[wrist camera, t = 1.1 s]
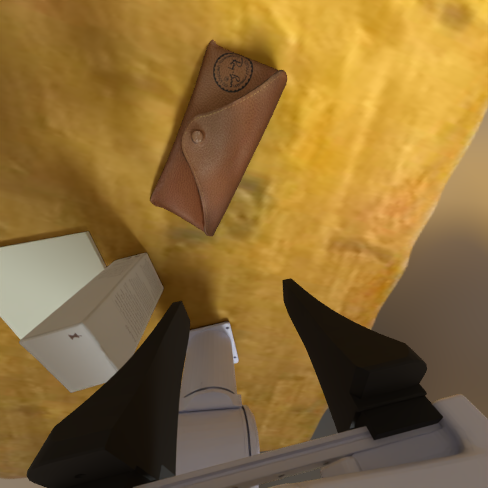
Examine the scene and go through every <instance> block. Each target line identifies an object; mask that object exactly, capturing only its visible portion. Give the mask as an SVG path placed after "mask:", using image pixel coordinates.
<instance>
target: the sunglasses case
mask: <svg viewBox="0 0 488 488" xmlns="http://www.w3.org/2000/svg"><path fill="white" fill-rule="evenodd" d="M286 82H287V75H286V73H285V71H284V70H276V69H274V68H272V67H269V66H267V65H264V64H262V63H259V62H257V61H254V60H251V59H249V58H246V57H244V56H242V55H239V54H236V53H234V52H231V51H229V50H226V49H224V48H222V47H220V46H218V45H217V44H216V42H215V41H214V40H212V41H211V42H210V43H209V45H208V47H207V50H206V53H205V56H204V59H203V62H202V66H201V69H200V72H199V76H198V78H197V81H196V85H195V88H194V91H193V94H192V96H191V99H190V102H189V105H188V108H187V111H186V113H185V116H184V119H183V121H182V124H181V127H180V129H179V132H178V134H177V137H176V140H175V142H174V144H173V147H172V150H171V152H170V155H169V158H168V160H167V163H166V165H165V167H164V169H163V172H162V174H161V176H160V178H159V180H158V183H157V185H156V187H155V189H154V191H153V194H152V196H151V199H150V201H151V203H152V204H154V205H155V206H158V207H162V208H164V209H166V210H168V211H170V212H172V213H174V214H176V215H178V216H180V217H181V218H183V219H184V220H186V221H187V222H189V223H191V224H193V225H194V226H196V227H197V228H199V229H201V230H202V231H204V232H205V234H206V235H207V236H213V235H214V233H215V231H216V229H217V227H218V225H219V223H220V221H221V219H222V217H223V215H224V213H225V212H226V209H227V207H228V206H229V203H230V201H231V199H232V197H233V195H234V193H235V191H236V189H237V187H238V185H239V183H240V181H241V179H242V177H243V175H244V173H245V171H246V168H247V166H248V164H249V162H250V160H251V158H252V156H253V154H254V152H255V150H256V148H257V146H258V144H259V142H260V140H261V138H262V136H263V133H264V131H265V129H266V127H267V125H268V123H269V121H270V119H271V117H272V115H273V112H274V110H275V108H276V105H277V103H278V101H279V99H280V97H281V94H282V92H283V90H284V88H285V86H286Z"/></svg>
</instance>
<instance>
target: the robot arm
mask: <svg viewBox="0 0 488 488" xmlns="http://www.w3.org/2000/svg"><path fill="white" fill-rule="evenodd" d="M283 298H284V303H285V306H286V309H287V311H288V314H289V316H290V318H291V320H292V322H293V324H294V326H295V328H296V330H297V332H298V334H299V336H300V338H301V340H302V342H303V343H304V346H305V348H306V350H307V352H308V355H309V357H310V359H311V362H312V364H313V367H314V369H315V372H316V375H317V377H318V380H319V382H320V385H321V388H322V390H323V393H324V396H325V398H326V401H327V404H328V406H329V409H330V412H331V415H332V418H333V420H334V423H335V426H336V429H337V432H338V434H334V435H330V436H326V437H322V438H318V439H315V440H311V441H307V442H303V443H299V444H295V445H292V446H288V447H284V448H280V449H276V450H273V451H269V452H265V453H261V454H260V451H259V439H258V432H257V426H256V422H255V418H254V415H253V413H252V412H251V410H250V409H249V407H248V406H247V405H242V401H241V395H237V390H236V380H235V370H234V363H237V362H238V361H239V359H238V355H237V351H236V347H235V342H234V338H233V334H232V330H231V326H230V323H229V322H223V323H219V324H215V325H211V326H206V327H202V328H198V329H194V330H190V319H189V317H188V315H187V312H186V310H185V307H184V305H183V303H182V301H179V302H174V303H172V305H171V306H170V308H169V309H168V310H167V312H166V313H165V315H164V316H163V317H162V319H161V320H160V322H159V323H158V324H157V326H156V327H155V329H154V330H153V331H152V333H151V334H150V335H149V336H148V338H147V339H146V340H145V341H144V343H143V344H142V345H141V346H140V348H139V349H138V350H137V351H136V352H135V353H134V354H133V356H132V357H131V358H130V359H129V360H128V361H127V362H126V363H125V364H124V365H123V366H122V367H121V368H120V369H119V370H118V371H117V372H116V373H115V374H114V375H113V376H112V377H111V378H110V379H109V380H108V381H107V382H106V383H105V384H104V385H103V386H102V387H101V388H100V389H99V390H98V391H96V392H95V393H94V394H93V395H92V396H91V397H90V398H89V399H87V400H86V401H85V402H84V403H83V404H82V405H80V406H79V407H78V408H77V409H76V410H74V411H73V412H72V413H71V414H70V415H68V416H67V417H66V418H65V419H63V420H62V421H61V422H60V423H59V424H57V425H56V426H55V427H54V428H53V430H52V431H51V433H50V435H49V436H48V438H47V440H46V441H45V443H44V444H43V446H42V448H41V449H40V451H39V453H38V454H37V456H36V458H35V459H34V461H33V463H32V464H31V466H30V467H29V469H28V471H27V477H28V479H29V480H30V481H32V482H34V483H36V484H38V485H41V486H44V487H47V488H259V485H260V484H264V483H267V482H271V481H275V480H278V479H282V478H286V477H289V476H292V475H297V474H300V473H304V472H308V471H311V470H315V469H318V468H322V467H324V468H322V469H321V471H320V473H321V476H322V479H316V480H311V481H305V482H299V483H294V484H282V485H277V486H273V487H269V488H488V419H487V418H486V417H485V416H484V415H483V414H482V413H481V412H480V411H479V410H478V409H477V408H476V407H475V406H474V405H473V404H472V403H471V402H470V401H468V399H467V398H465V396H463V395H461V394H458V395H454V396H450V397H446V398H442V399H439V400H436V401H434V402H433V403H431V402H430V401H429V400H428V399H427V398H426V397H425V395H426V394H427V393H426V391H425V390H424V389H423V388H422V387H421V385H420V384H419V383H420V381H421V380H422V378H423V376H424V375H425V373H426V370H427V367H426V363H425V362H424V361H423V360H422V359H421V358H420V357H419V356H418V355H417V354H416V353H415V352H414V351H413V350H412V349H411V348H410V347H408V346H407V345H406V344H405V343H403V342H400V341H397V340H395V339H392V338H389V337H386V336H384V335H381V334H379V333H377V332H374V331H372V330H370V329H368V328H365V327H363V326H361V325H359V324H357V323H355V322H353V321H351V320H349V319H347V318H345V317H344V316H342V315H340V314H338V313H337V312H335V311H333V310H332V309H330V308H329V307H327V306H326V305H324V304H323V303H321V302H320V301H318V300H317V299H316V298H314V297H313V296H312V295H310V294H309V293H308V292H307V291H305V290H304V289H303V288H302V287H301V286H299V285H298V284H297V283H296V282H295V281H293V280H292V279H286V280H283ZM185 357H186V360H185ZM184 362H185V366H184ZM183 367H184V372H183ZM182 373H183V378H182ZM181 379H182V384H181Z"/></svg>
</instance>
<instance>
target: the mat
mask: <svg viewBox="0 0 488 488" xmlns="http://www.w3.org/2000/svg"><path fill="white" fill-rule="evenodd" d="M105 268H106V265H105V263H104V261H103V259H102V257H101V255H100V253H99V251H98V249H97V247H96V245H95V243H94V241H93V239H92V237H91V235H90V233H89V231H87V232H81V233H76V234H70V235H64V236H59V237H53V238H48V239H42V240H37V241H31V242H26V243H20V244H15V245H9V246H3V247H0V317H1V318H2V319H3V320H4V321H5V322H6V323H7V325H8V326H9V327H10V328H11V329H12V330H13V331H14V333H15V334H16V335H17V336H18V337H19V338H20V339H22V338H23V337H24V336H26V335H27V334H28V333H29V332H30V331H32V330H33V329H34V328H35V327H36V326H38V325H39V324H40V323H41V322H42V321H44V320H45V319H46V318H47V317H48V316H49V315H51V314H52V313H53V312H54V311H55V310H57V309H58V308H59V307H60V306H61V305H62V304H64V303H65V302H66V301H67V300H68V299H70V298H71V297H72V296H73V295H74V294H76V293H77V292H78V291H79V290H80V289H81V288H83V287H84V286H85V285H86V284H87V283H89V282H90V281H91V280H92V279H93V278H95V277H96V276H97V275H98V274H99V273H100V272H102V271H103V270H104V269H105Z"/></svg>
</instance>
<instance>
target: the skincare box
mask: <svg viewBox="0 0 488 488" xmlns="http://www.w3.org/2000/svg"><path fill="white" fill-rule="evenodd" d="M163 289H164V287H163V285H162V283H161V281H160V279H159V277H158V275H157V273H156V271H155V269H154V267H153V265H152V263H151V260H150V258H149V256H148V254H147V253H142V254H138V255H134V256H130V257H126V258H122V259H118V260H115V261H114V262H112V263H111V264H110V265H109V266H108V267H106V268H105V269H104V270H103V271H102V272H100V273H99V274H98V275H97V276H96V277H95V278H93V279H92V280H91V281H90V282H89V283H87V284H86V285H85V286H84V287H83V288H81V289H80V290H79V291H78V292H77V293H76V294H74V295H73V296H72V297H71V298H70V299H68V300H67V301H66V302H65V303H64V304H62V305H61V306H60V307H59V308H58V309H57V310H55V311H54V312H53V313H52V314H51V315H49V316H48V317H47V318H46V319H45V320H44V321H42V322H41V323H40V324H39V325H38V326H36V327H35V328H34V329H33V330H32V331H30V332H29V333H28V334H27V335H26V336H24V337H23V338H22V339H21V340H20V341H19V343H20V344H21V345H22V346H23V347H24V348H25V349H26V350H27V351H28V352H30V353H31V354H32V355H33V356H34V357H35V358H36V359H37V360H38V361H39V362H40V363H41V364H42V365H43V366H44V367H45V368H46V369H47V370H48V371H49V372H50V373H51V374H52V375H53V376H54V377H55V378H56V379H58V380H59V381H60V382H61V383H62V384H63V385H64V386H65V387H66V388H67V389H68V390H69V391H70V392H71V393H72V392H75V391H79V390H82V389H85V388H89V387H92V386H95V385H99V384H102V383H106V382H107V381H108V380H109V379H110V378H111V377H112V376H113V375H114V374H115V373H116V372H117V371H118V370H119V369H120V368H121V367H122V366H123V365H124V364H125V363H126V362H127V361H128V360H129V359H130V358H131V357H132V356H133V354H134V352H135V350H136V347H137V345H138V343H139V341H140V339H141V337H142V335H143V332H144V330H145V328H146V326H147V324H148V322H149V319H150V317H151V315H152V313H153V311H154V309H155V307H156V304H157V302H158V300H159V298H160V296H161V294H162V292H163Z"/></svg>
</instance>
